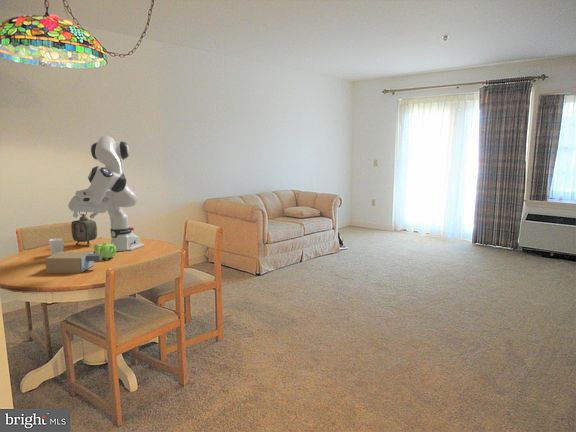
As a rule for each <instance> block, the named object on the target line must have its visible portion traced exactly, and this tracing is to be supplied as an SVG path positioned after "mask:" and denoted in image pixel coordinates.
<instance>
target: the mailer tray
mask: <svg viewBox="0 0 576 432" xmlns="http://www.w3.org/2000/svg"><path fill="white" fill-rule="evenodd" d="M90 252H91V253H89V254H87V255H85V256H84V257H82V258H80V263H81V273H83V272H84V271H86V270H88V269H90V268H92V266H94V265H95V262H100V261H102V260H103V258H102V254H95V253H94V251H90Z"/></svg>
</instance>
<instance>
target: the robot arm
mask: <svg viewBox="0 0 576 432" xmlns="http://www.w3.org/2000/svg"><path fill="white" fill-rule="evenodd" d="M130 150H131V149H130V147H129V145H128V143H127V142H125V141H116V140H115V139H114V138H113V137H112V136H109V135H103V136H101V137H100V138H99V139H98V141H97V142H94V143H92V145H91V146H90V155H91V156H92V158H93V159H94V160H97V161H98V162H100V163H101V164H103V165H104V166H103V167H102V166H98V165H97V166H95V167H92V168H91V170H90V173H89V174H88V176H87V179H88V182H89V183H90V185H89V186H88V187H87V188H85V189H82V190H81V189H80V190H77V191H75V195H73V196H72V197H71V199H70V201H69V202H68V205H67V207H68V209H69V211H71V212H73V215H72V217H73V218H76V219H77V218H78V216H79V214H78V213H79V211H80V213H82V212H83V213H86V212H87V213H91V214H90V215H89V218H90V219H91V220H92V219H94V218H95V217H96V216H97V215H98V214H100V213H101V214H104V213H106V212H107V214H108V216H109V220H110V229H109V230H110V237H111V238H110V244H111V243H114V246H116V250H117V252H124V251H134V250H136V249H138V248H141V247H144V246H145V243H142V242H141V238H140V236H138V235H136V234H135V233H134V232H133V231H135V227H133V226H132V227H130V223H129V222H130V219H129V215H128V214H127V213H126V212H125V211H124V210H123V208H125V209H126V208H132V207H134V206H136V204H137V203H138V196H137V194H136V193H135V192H134V191H133V190H132V189H131V188H130V186H129V185H128V182H127V179H126V175H125V165H124V160H125V159H127V158H128V157H129V156H130Z"/></svg>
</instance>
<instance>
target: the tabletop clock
mask: <svg viewBox="0 0 576 432" xmlns="http://www.w3.org/2000/svg"><path fill="white" fill-rule="evenodd" d="M78 213H79V214H78V215H80V217H79V219H78V220H73V221H72V222H71V228H70V229H71V235H72V239H73V241H76V243H75V246H78V245H79V243H80V242H81V243H86V247H90V241H94V240H96V239H97V237H98V227H97V223H96V221H95V220H92V219H88V217H87V215H88V212H85V213H81V212H80V211H78Z"/></svg>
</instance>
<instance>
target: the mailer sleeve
mask: <svg viewBox="0 0 576 432" xmlns="http://www.w3.org/2000/svg"><path fill="white" fill-rule="evenodd" d="M91 252H92V251H64V252H58V253H56V254H54V255H51V254H50V255H49V256H48V257H45V259H44V262H45V271H46V272H45V273H46V274H71V273H72V274H76V273H77V274H78V273H79V274H80V273H82V272H81V263H80V258H82V257H84V256H85V255H87V254H89V253H91Z"/></svg>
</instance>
